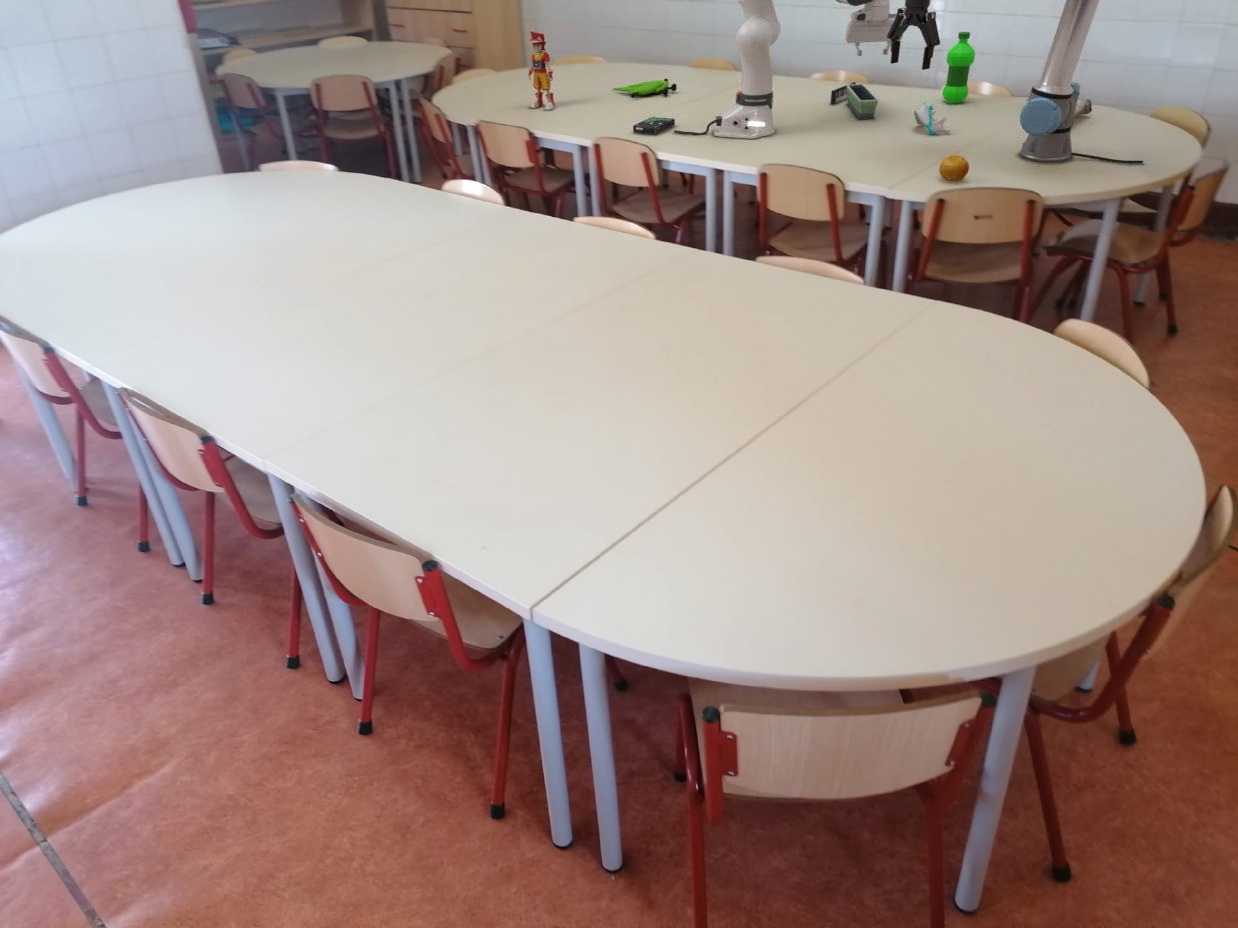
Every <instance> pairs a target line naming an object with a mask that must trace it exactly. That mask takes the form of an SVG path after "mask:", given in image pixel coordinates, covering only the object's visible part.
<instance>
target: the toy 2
mask: <svg viewBox="0 0 1238 928" xmlns="http://www.w3.org/2000/svg"><path fill="white" fill-rule="evenodd" d="M669 85H670V83H669V79H668V78H664V79H663V80H649V81H644V82H640V83H634V84H629V85H627V86H621V87H613V88H612V89H613V90H616V91H619V92H623V93H627V94H628V93H629V94H631V95H630V96H631V98H632V99H634V98H636V96H637V95H650V94H652V93H654V94H658V93H662V95H663V96H665V97H667V96H668V95H669V90H671V91H672V92H676V91H677V84H676V83H672V84H671V86H669Z"/></svg>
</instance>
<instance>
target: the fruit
mask: <svg viewBox="0 0 1238 928" xmlns="http://www.w3.org/2000/svg"><path fill="white" fill-rule="evenodd" d="M969 171H970V164H969V162H968V160H967V159H966V158H965V157H964V156H961V155H957V154H955V155H949V156H947V157H945V158H943V159H942V160H941V162H940V164H939V167H938V173H939V176H940V177H941V178H942V179H944V180H945V181H949V182H959V181H960V180H963V179H964V178H965V177H966V176H967V175H968V173H969Z"/></svg>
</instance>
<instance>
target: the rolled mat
mask: <svg viewBox="0 0 1238 928" xmlns="http://www.w3.org/2000/svg"><path fill="white" fill-rule="evenodd" d="M1092 111H1093V108H1092V100H1091V99H1090V98H1081V97H1080V98H1079V97H1078V100H1077V105H1076V109H1075V113H1074V118H1073V121H1074V120H1075V119H1077V117H1079V116H1084V115H1088V114H1090V113H1091V112H1092Z"/></svg>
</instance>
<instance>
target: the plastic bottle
mask: <svg viewBox="0 0 1238 928" xmlns="http://www.w3.org/2000/svg"><path fill="white" fill-rule="evenodd" d="M970 36H971V32H970V31H959V32H958V36H957V39H958V42H957V43H956V44H954V45H953V46H952V47H951V48H950V49H949V50H948V52H947V54H946V63H947V64H948V69H947V70H948V71H947V76H946V77H947V78H946V84H945V85H944V87H943V90H942V97H943V99H944V100H945V101H946V102H947V103H948V104H960V103H961V102H963V101H964V100H966V98H967V96H968V95H969V85H968V79H969V73H970V67H971V65H972V64H973V63H974V61H975V57H976V51H975V49H974V47H972V45H971V44H970V43H969V42H968V41H969V39H970V38H971V37H970Z"/></svg>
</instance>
